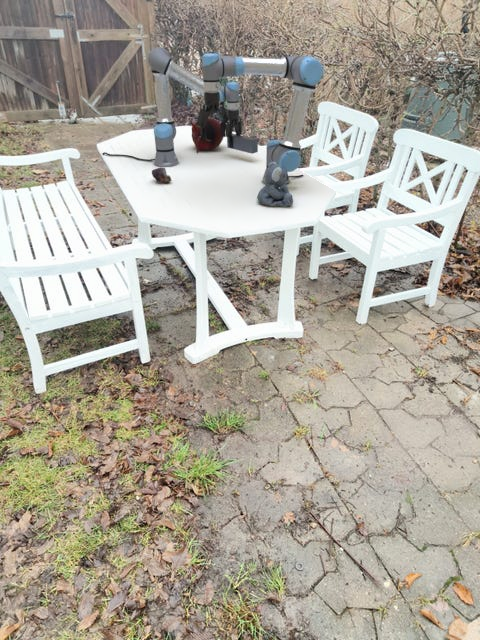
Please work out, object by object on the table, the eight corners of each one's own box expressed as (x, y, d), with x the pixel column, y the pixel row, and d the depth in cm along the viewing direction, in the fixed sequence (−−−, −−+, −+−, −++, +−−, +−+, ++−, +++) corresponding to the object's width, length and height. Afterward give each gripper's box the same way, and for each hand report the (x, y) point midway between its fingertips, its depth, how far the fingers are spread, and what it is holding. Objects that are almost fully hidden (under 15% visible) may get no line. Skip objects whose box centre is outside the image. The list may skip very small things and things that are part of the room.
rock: (166, 180, 269) (150, 182, 265) (164, 165, 265) (148, 167, 261) (173, 182, 260) (156, 184, 256) (171, 166, 256) (154, 169, 252)
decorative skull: (189, 124, 329) (187, 120, 305) (221, 116, 328) (220, 113, 305) (196, 154, 336) (194, 153, 312) (227, 147, 335) (227, 145, 311)
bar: (227, 147, 303) (226, 134, 299) (232, 146, 306) (232, 133, 302) (252, 153, 289) (252, 140, 285) (257, 152, 292) (257, 138, 288)
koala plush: (294, 207, 227) (296, 168, 215) (258, 208, 226) (259, 169, 214) (288, 196, 241) (290, 158, 230) (255, 197, 240) (255, 159, 229)
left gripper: (226, 112, 282) (228, 150, 295) (247, 108, 292) (247, 145, 305) (218, 110, 286) (220, 148, 299) (239, 106, 296) (239, 143, 310)
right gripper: (197, 95, 202) (200, 144, 214) (235, 89, 217) (236, 135, 229) (186, 94, 206) (189, 142, 218) (224, 88, 221) (225, 133, 233)
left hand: (234, 146), depth 302 cm, fingers closed on bar, 5 cm apart
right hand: (213, 139), depth 224 cm, fingers open, 13 cm apart
